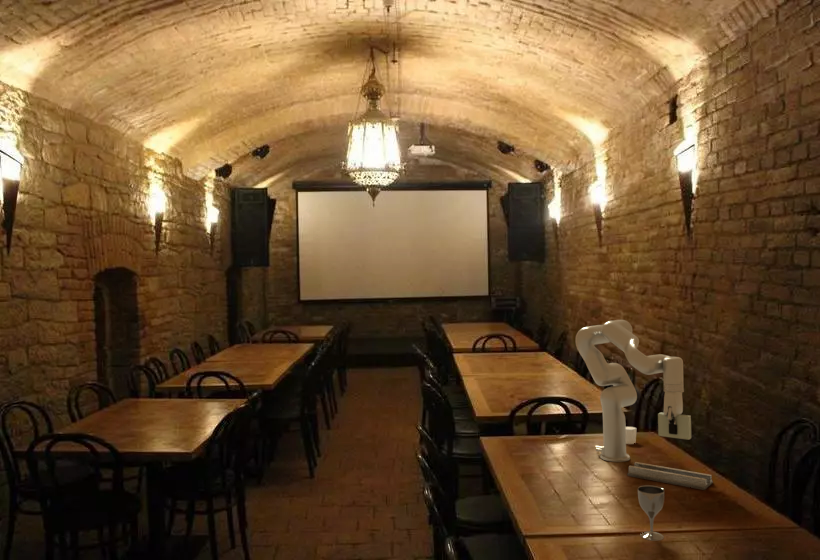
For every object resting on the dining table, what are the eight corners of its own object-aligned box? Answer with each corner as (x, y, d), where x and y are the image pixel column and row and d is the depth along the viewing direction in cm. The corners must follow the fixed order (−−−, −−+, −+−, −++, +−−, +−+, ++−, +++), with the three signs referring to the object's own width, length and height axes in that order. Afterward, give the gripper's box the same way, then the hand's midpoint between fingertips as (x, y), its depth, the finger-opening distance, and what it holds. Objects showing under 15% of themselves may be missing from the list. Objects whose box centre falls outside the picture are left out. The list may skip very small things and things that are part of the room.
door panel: (658, 435, 278) (658, 413, 278) (660, 434, 280) (660, 412, 280) (689, 439, 271) (688, 417, 270) (691, 438, 273) (690, 415, 273)
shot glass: (635, 440, 329) (634, 426, 328) (638, 444, 322) (638, 429, 322) (620, 440, 329) (620, 426, 329) (623, 444, 322) (623, 429, 322)
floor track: (627, 475, 277) (627, 467, 277) (637, 469, 284) (637, 461, 284) (704, 490, 257) (704, 480, 257) (712, 483, 265) (712, 474, 265)
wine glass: (634, 532, 221) (633, 486, 220) (658, 530, 221) (657, 484, 221) (645, 542, 213) (644, 494, 212) (669, 540, 213) (668, 492, 213)
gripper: (670, 383, 284) (671, 427, 284) (657, 390, 271) (658, 436, 271) (689, 385, 279) (690, 429, 279) (676, 391, 266) (677, 438, 267)
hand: (674, 432), depth 275 cm, fingers closed on door panel, 3 cm apart
